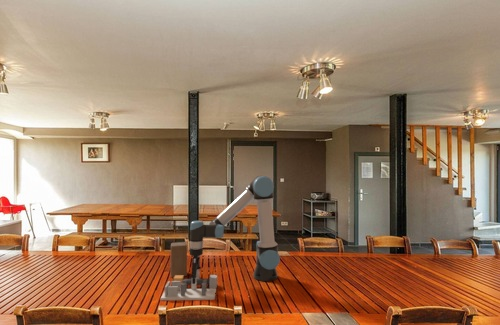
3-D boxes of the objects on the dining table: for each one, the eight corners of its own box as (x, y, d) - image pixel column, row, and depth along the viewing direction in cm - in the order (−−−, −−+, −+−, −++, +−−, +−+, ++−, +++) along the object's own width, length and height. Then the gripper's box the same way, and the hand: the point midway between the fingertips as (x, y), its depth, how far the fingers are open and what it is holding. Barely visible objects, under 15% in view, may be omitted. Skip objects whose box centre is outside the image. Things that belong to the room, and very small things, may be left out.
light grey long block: (215, 290, 173) (216, 277, 173) (214, 299, 161) (214, 285, 161) (165, 291, 172) (165, 278, 172) (160, 300, 160) (160, 286, 160)
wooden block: (170, 278, 193) (171, 246, 193) (170, 273, 202) (170, 242, 203) (186, 276, 195) (187, 245, 196) (185, 271, 205) (186, 241, 206)
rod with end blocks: (216, 285, 182) (217, 274, 182) (216, 288, 177) (216, 277, 177) (175, 285, 181) (175, 275, 181) (173, 288, 176) (173, 278, 176)
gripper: (192, 242, 192) (191, 276, 191) (186, 253, 167) (185, 293, 166) (204, 242, 192) (204, 276, 191) (200, 253, 167) (199, 293, 166)
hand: (195, 284), depth 179 cm, fingers open, 13 cm apart
